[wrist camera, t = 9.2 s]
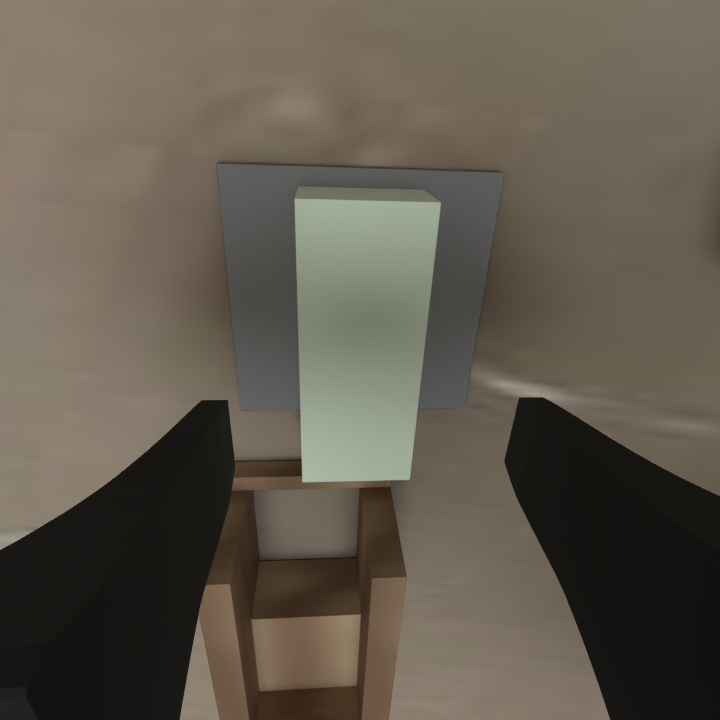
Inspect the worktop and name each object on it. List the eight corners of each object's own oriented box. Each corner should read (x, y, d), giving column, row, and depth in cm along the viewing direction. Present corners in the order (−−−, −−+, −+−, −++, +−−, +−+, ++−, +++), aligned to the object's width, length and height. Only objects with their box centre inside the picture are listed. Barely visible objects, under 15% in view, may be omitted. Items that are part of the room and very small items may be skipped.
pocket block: (388, 458, 21) (408, 563, 16) (373, 639, 27) (384, 753, 22) (221, 462, 20) (190, 571, 15) (245, 645, 26) (228, 764, 21)
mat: (500, 171, 15) (504, 173, 15) (461, 402, 19) (464, 408, 19) (218, 162, 14) (216, 163, 14) (242, 405, 19) (240, 410, 18)
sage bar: (423, 190, 15) (441, 202, 13) (400, 440, 20) (409, 479, 17) (298, 186, 15) (294, 198, 12) (304, 441, 19) (302, 482, 17)
